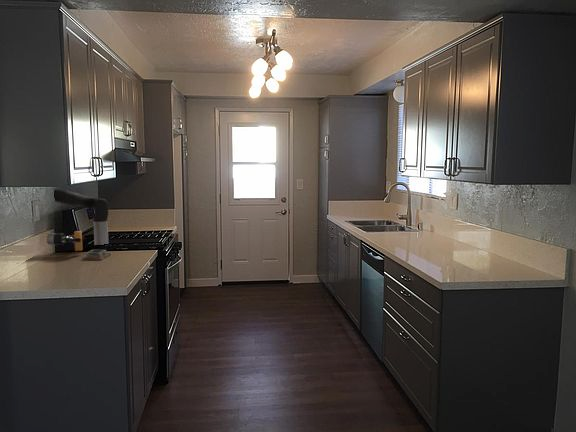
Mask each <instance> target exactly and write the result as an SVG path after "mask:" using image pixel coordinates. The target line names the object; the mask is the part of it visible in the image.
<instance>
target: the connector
mask: <svg viewBox="0 0 576 432" xmlns="http://www.w3.org/2000/svg"><path fill="white" fill-rule="evenodd" d="M73 233H74V234H73V236H74V238H81V242H74V250H75V252H79V251H81V252H82V251H83V240H82V237H83V232H82V230H76V231H74V232H73Z"/></svg>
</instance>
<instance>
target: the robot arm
mask: <svg viewBox="0 0 576 432" xmlns="http://www.w3.org/2000/svg"><path fill="white" fill-rule="evenodd" d="M54 189H55V190H54V198H55V201H54V202H57V203H60V204H63V205H68V206H73V207H84V208H88V209H91V210H93V211H94V216H93V218H92V219H93V220H92V221H93V222H92V223H93V237H94V238H93V241H94V242H93V243H94V246H95V245H104V244H108V245H109V231H108V230H109V229H108V224H109V223H108V218H109V203H108V201H107V200H106V199H104V198H100V197H90V196H86V195H83V194H82V193H81V194H80V193H77V192H75V191H71V190H67V189H61V188H54ZM47 234H48V236H47V243H48V245H50V246H64V245H65V244H72V243H75V242H81V238H74V234H71V235H66V234H65V233H62V232H61V233H56V232H55V233H53V232H52V233H47ZM82 241H85V236H82Z"/></svg>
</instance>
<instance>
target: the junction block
mask: <svg viewBox="0 0 576 432" xmlns="http://www.w3.org/2000/svg"><path fill="white" fill-rule="evenodd" d="M85 254H86V256H84V257H82V258H81V261H103V260H104V259H106V258H108V257H110V256H111V255H112V254H111V252H110V253H108V252H107V249H91V250H89V251H87V252H86V253H85Z"/></svg>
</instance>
